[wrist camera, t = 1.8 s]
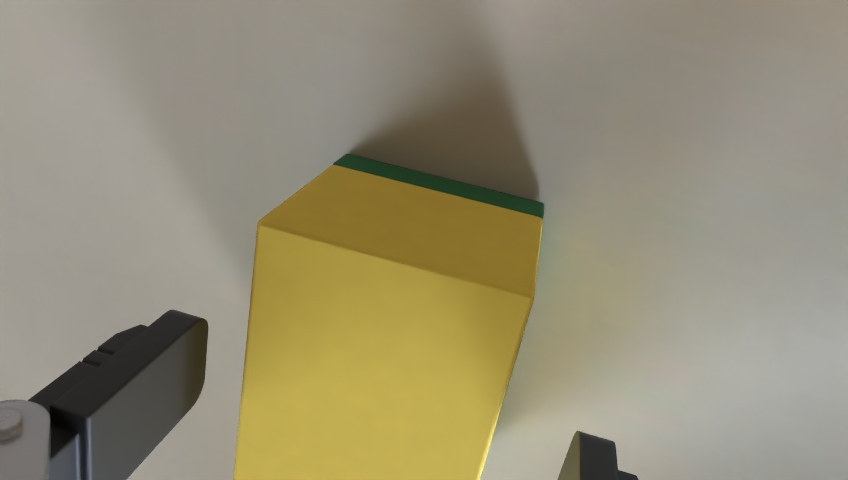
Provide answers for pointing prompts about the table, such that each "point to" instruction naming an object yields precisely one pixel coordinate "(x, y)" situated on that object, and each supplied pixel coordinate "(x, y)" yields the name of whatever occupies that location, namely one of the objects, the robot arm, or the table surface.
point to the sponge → (383, 326)
